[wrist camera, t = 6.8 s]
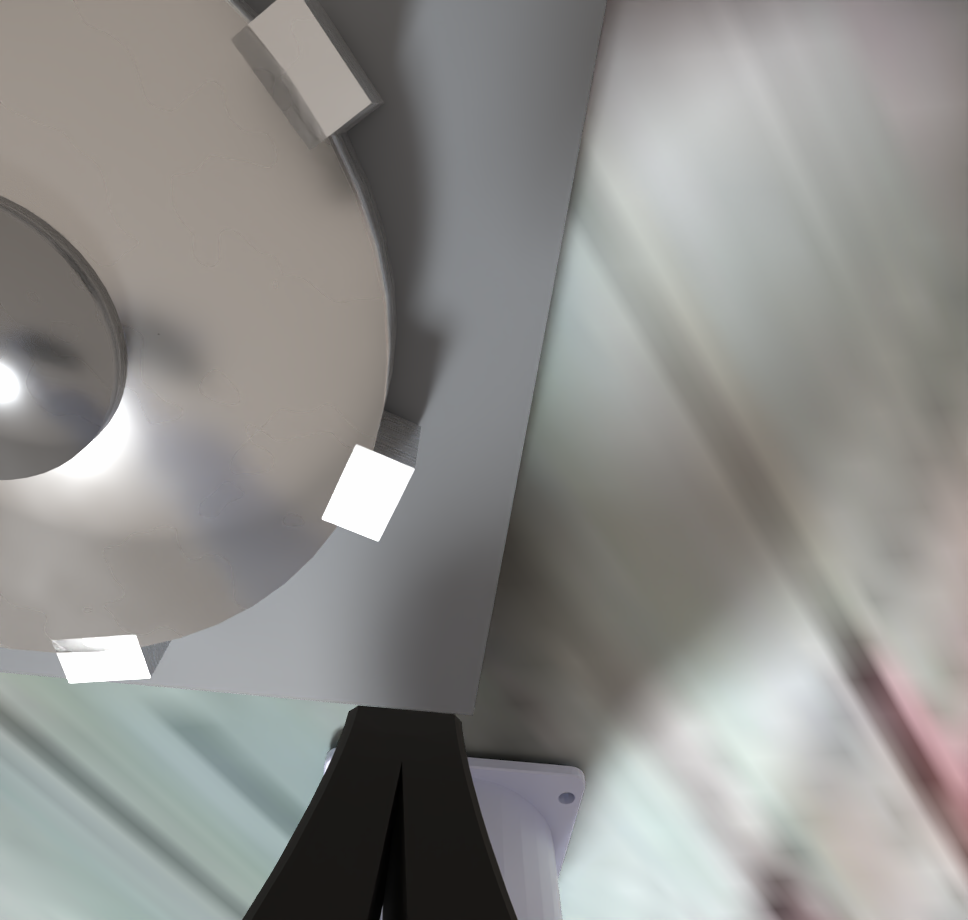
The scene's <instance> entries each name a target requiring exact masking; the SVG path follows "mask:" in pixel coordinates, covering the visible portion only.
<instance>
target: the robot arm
mask: <svg viewBox="0 0 968 920" xmlns="http://www.w3.org/2000/svg"><path fill="white" fill-rule="evenodd" d="M585 786H586V782H585V777H584V774H583V772H582V770H580V769H579V768H577V767H573V766H564V765H552V764H541V763H529V762H517V761H506V760H494V759H483V758H471V757H467V754H466V749H465V743H464V738H463V731H462V722H461V721H460V720H459V719H458V718H457V717H456V716H455V715H454V714H446V713H435V712H424V711H413V710H402V709H391V708H380V707H369V706H357V707H355V708H354V709H352V710H351V711H349V713H348V716H347V719H346V723H345V726H344V729H343V732H342V734H341V737H340V739H339V742H338V744H337V747H336V748H333V749H331V750H330V751H329V752H328V753H327V756H326V759H325V764H324V776H323V778H322V780H321V782H320V784H319V786H318V788H317V790H316V792H315V794H314V796H313V798H312V800H311V802H310V804H309V806H308V808H307V810H306V812H305V813H304V815H303V817H302V819H301V821H300V823H299V824H298V826H297V828H296V830H295V832H294V834H293V835H292V837H291V839H290V841H289V843H288V844H287V846H286V848H285V850H284V852H283V854H282V855H281V857H280V859H279V861H278V862H277V864H276V866H275V868H274V869H273V871H272V873H271V874H270V876H269V878H268V879H267V881H266V882H265V884H264V886H263V887H262V889H261V891H260V892H259V894H258V895H257V897H256V899H255V900H254V902H253V903H252V905H251V907H250V908H249V910H248V911H247V913H246V915H245V916H244V918H243V919H242V920H563V919H562V911H561V902H560V894H559V885H558V878H559V875H560V871H561V868H562V865H563V861H564V858H565V854H566V851H567V848H568V844H569V841H570V838H571V834H572V831H573V827H574V824H575V821H576V817H577V814H578V811H579V807H580V804H581V801H582V797H583V794H584V790H585ZM566 792H568V793H566Z"/></svg>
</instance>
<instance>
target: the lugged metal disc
mask: <svg viewBox="0 0 968 920" xmlns="http://www.w3.org/2000/svg"><path fill="white" fill-rule="evenodd" d="M384 103H385V102H384V101H383V99H382V98H381V96H380V95H379V93H378V92H377V90H376V89H375V87H374V85H373V84H372V82H371V81H370V79H369V78H368V76H367V75H366V73H365V72H364V70H363V69H362V67H361V66H360V64H359V63H358V61H357V59H356V58H355V56H354V55H353V53H352V52H351V50H350V49H349V47H348V46H347V44H346V43H345V41H344V40H343V38H342V37H341V35H340V33H339V32H338V30H337V29H336V27H335V26H334V24H333V23H332V21H331V20H330V18H329V17H328V15H327V14H326V12H325V11H324V9H323V7H322V6H321V4H320V3H319V2H318V1H316V0H276V1H275V2H274V3H273V4H271V5H270V6H269V7H268V8H267V9H266V10H264V11H263V12H262V13H261V14H259V13H258V12H257V11H256V10H255V9H254V8H253V7H252V6H251V5H250V4H249V3H248V2H247V1H246V0H0V647H2V648H8V649H16V650H28V651H40V652H51V653H57V655H58V658H59V660H60V663H61V665H62V667H63V670H64V672H65V674H66V677H67V679H68V682H69V683H81V682H97V681H112V680H127V679H143V678H151V677H152V675H153V673H154V671H155V669H156V668H157V666H158V664H159V662H160V660H161V658H162V657H163V655H164V653H165V651H166V649H167V647H168V646H169V644H170V642H171V640H174V639H178V638H182V637H185V636H187V635H190V634H193V633H196V632H198V631H201V630H204V629H207V628H209V627H212V626H215V625H217V624H220V623H221V622H223V621H225V620H227V619H229V618H231V617H233V616H235V615H237V614H239V613H241V612H243V611H245V610H247V609H249V608H250V607H252V606H254V605H255V604H257V603H258V602H260V601H261V600H262V599H264V598H265V597H267V596H268V595H270V594H271V593H272V592H274V591H275V590H277V589H278V588H279V587H281V586H282V585H284V584H285V583H286V582H287V581H288V580H289V579H290V578H291V577H292V576H293V575H295V574H296V573H297V572H298V571H299V570H300V569H301V568H302V567H303V566H304V565H305V564H306V563H307V562H308V561H309V560H310V559H312V558H313V557H314V555H315V554H316V553H317V551H318V550H319V549H320V548H321V546H322V545H323V544H324V543H325V541H326V540H327V539H328V538H329V536H330V535H331V534H332V532H333V531H334V530H335V529H336V527H337V526H341V527H343V528H346V529H348V530H351V531H353V532H356V533H359V534H361V535H364V536H366V537H369V538H371V539H374V540H376V541H379V539H380V537H381V535H382V533H383V531H384V529H385V527H386V525H387V523H388V521H389V519H390V517H391V515H392V513H393V512H394V510H395V508H396V506H397V504H398V502H399V500H400V498H401V496H402V494H403V492H404V490H405V488H406V486H407V484H408V482H409V480H410V478H411V476H412V474H413V472H414V470H415V466H416V459H417V452H418V444H419V437H420V430H421V426H419V425H417V424H414V423H412V422H410V421H407V420H405V419H403V418H401V417H398V416H396V415H394V414H391V413H389V412H387V411H384V408H385V404H386V399H387V395H388V390H389V386H390V381H391V377H392V373H393V365H394V353H395V340H396V328H397V325H396V306H395V287H394V277H393V272H392V267H391V261H390V256H389V250H388V245H387V239H386V234H385V230H384V227H383V224H382V221H381V218H380V215H379V211H378V208H377V205H376V202H375V199H374V196H373V193H372V189H371V186H370V183H369V181H368V179H367V177H366V174H365V172H364V170H363V168H362V166H361V163H360V161H359V159H358V157H357V155H356V152H355V150H354V148H353V146H352V144H351V141H350V139H349V137H348V135H347V133H346V132H347V131H349V130H350V129H351V128H352V127H354V126H355V125H356V124H358V123H359V122H360V121H362V120H363V119H364V118H365V117H367V116H368V115H369V114H371V113H372V112H373V111H375V110H376V109H377V108H378V107H380V106H381V105H382V104H384Z"/></svg>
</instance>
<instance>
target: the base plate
mask: <svg viewBox="0 0 968 920" xmlns="http://www.w3.org/2000/svg"><path fill="white" fill-rule="evenodd" d="M246 1H247V2H248V3H249V4H250V5H251V6H252V7H253V8H254V9H255V10H256V11H257V12H258V13H259V14H261V13H262V12H263V11H264V10H266V9H267V8H268V7H269V6H270V5H271V4H273V3H274V2H275V1H276V0H246ZM316 1H318V2H319V3H320V4H321V6H322V7H323V9H324V11H325V12H326V14H327V15H328V17H329V18H330V20H331V21H332V23H333V24H334V26H335V27H336V29H337V30H338V32H339V33H340V35H341V37H342V38H343V40H344V41H345V43H346V44H347V46H348V47H349V49H350V50H351V52H352V53H353V55H354V56H355V58H356V59H357V61H358V63H359V64H360V66H361V67H362V69H363V70H364V72H365V73H366V75H367V76H368V78H369V79H370V81H371V82H372V84H373V85H374V87H375V89H376V90H377V92H378V93H379V95H380V96H381V98H382V99H383V101H384V102H385V103H384V104H382V105H381V106H380V107H378V108H377V109H376V110H375V111H373V112H372V113H371V114H369V115H368V116H367V117H365V118H364V119H363V120H362V121H360V122H359V123H358V124H356V125H355V126H354V127H352V128H351V129H350V130H349V131H347V132H346V133H347V135H348V137H349V139H350V141H351V144H352V146H353V148H354V150H355V152H356V155H357V157H358V159H359V161H360V163H361V166H362V168H363V170H364V172H365V174H366V177H367V179H368V181H369V183H370V186H371V189H372V193H373V196H374V199H375V202H376V205H377V208H378V211H379V215H380V218H381V221H382V224H383V227H384V230H385V234H386V239H387V245H388V250H389V256H390V261H391V267H392V272H393V277H394V287H395V306H396V325H397V328H396V340H395V353H394V365H393V373H392V377H391V381H390V386H389V390H388V395H387V399H386V404H385V408H384V411H387V412H389V413H391V414H394V415H396V416H398V417H401V418H403V419H405V420H407V421H410V422H412V423H414V424H417V425H419V426H421V430H420V437H419V444H418V452H417V459H416V466H415V470H414V472H413V474H412V476H411V478H410V480H409V482H408V484H407V486H406V488H405V490H404V492H403V494H402V496H401V498H400V500H399V502H398V504H397V506H396V508H395V510H394V512H393V513H392V515H391V517H390V519H389V521H388V523H387V525H386V527H385V529H384V531H383V533H382V535H381V537H380V539H379V541H376V540H374V539H371V538H369V537H366V536H364V535H361V534H359V533H356V532H353V531H351V530H348V529H346V528H343V527H341V526H337V527H336V529H335V530H334V531H333V532H332V534H331V535H330V536H329V538H328V539H327V540H326V541H325V543H324V544H323V545H322V546H321V548H320V549H319V550H318V551H317V553H316V554H315V555H314V557H313V558H312V559H310V560H309V561H308V562H307V563H306V564H305V565H304V566H303V567H302V568H301V569H300V570H299V571H298V572H297V573H296V574H295V575H293V576H292V577H291V578H290V579H289V580H288V581H287V582H286V583H285V584H284V585H282V586H281V587H279V588H278V589H277V590H275V591H274V592H272V593H271V594H270V595H268V596H267V597H265V598H264V599H262V600H261V601H260V602H258V603H257V604H255V605H254V606H252V607H250V608H249V609H247V610H245V611H243V612H241V613H239V614H237V615H235V616H233V617H231V618H229V619H227V620H225V621H223V622H221V623H220V624H217V625H215V626H212V627H209V628H207V629H204V630H201V631H198V632H196V633H193V634H190V635H187V636H185V637H182V638H178V639H174V640H171V642H170V644H169V646H168V647H167V649H166V651H165V653H164V655H163V657H162V658H161V660H160V662H159V664H158V666H157V668H156V669H155V671H154V673H153V675H152V677H151V678H143V679H127V680H112V681H104V682H115V683H125V684H136V685H147V686H158V687H169V688H180V689H191V690H202V691H213V692H224V693H235V694H246V695H257V696H268V697H279V698H289V699H300V700H311V701H322V702H333V703H344V704H355V705H366V706H377V707H388V708H399V709H410V710H421V711H432V712H443V713H453V714H464V715H473V713H474V707H475V702H476V697H477V691H478V686H479V681H480V675H481V670H482V665H483V659H484V654H485V649H486V643H487V638H488V633H489V627H490V622H491V617H492V611H493V606H494V601H495V595H496V590H497V585H498V579H499V574H500V569H501V563H502V558H503V553H504V547H505V542H506V537H507V531H508V526H509V521H510V515H511V510H512V505H513V499H514V494H515V489H516V483H517V478H518V473H519V467H520V462H521V457H522V451H523V446H524V441H525V435H526V430H527V425H528V420H529V414H530V409H531V404H532V398H533V393H534V388H535V382H536V377H537V372H538V366H539V361H540V356H541V350H542V345H543V340H544V334H545V329H546V324H547V318H548V313H549V308H550V302H551V297H552V292H553V286H554V281H555V276H556V270H557V265H558V260H559V254H560V249H561V244H562V238H563V233H564V228H565V222H566V217H567V212H568V206H569V201H570V196H571V190H572V185H573V180H574V174H575V169H576V164H577V158H578V153H579V148H580V142H581V137H582V132H583V126H584V121H585V116H586V110H587V105H588V100H589V94H590V89H591V84H592V78H593V73H594V68H595V62H596V57H597V52H598V46H599V41H600V36H601V30H602V25H603V20H604V14H605V9H606V4H607V0H316ZM0 672H5V673H16V674H27V675H38V676H49V677H60V678H67V677H66V674H65V672H64V670H63V667H62V665H61V663H60V660H59V658H58V655H57V653H51V652H40V651H28V650H16V649H8V648H2V647H0Z"/></svg>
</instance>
